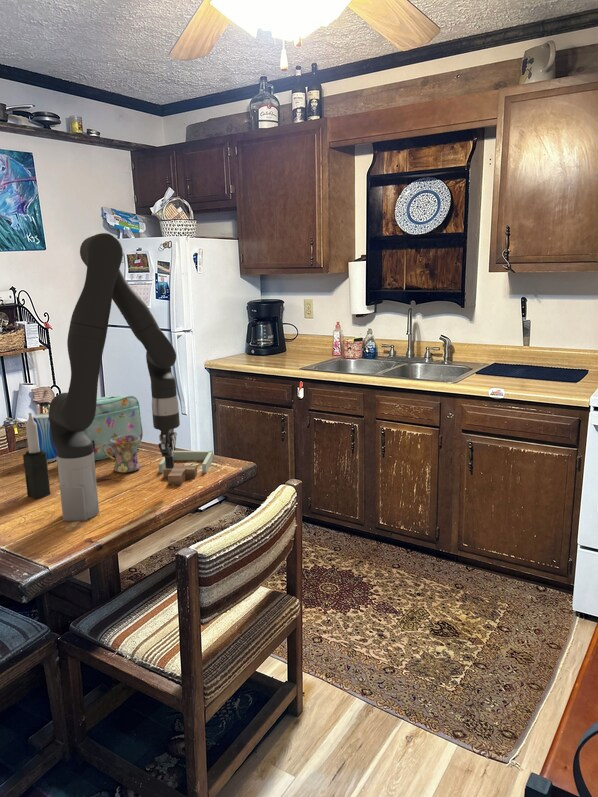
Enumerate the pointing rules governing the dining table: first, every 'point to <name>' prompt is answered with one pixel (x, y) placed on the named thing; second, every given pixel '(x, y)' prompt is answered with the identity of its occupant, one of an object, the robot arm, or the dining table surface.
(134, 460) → the mug
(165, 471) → the t block
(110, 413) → the lunch box
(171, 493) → the dining table surface
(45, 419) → the beer can
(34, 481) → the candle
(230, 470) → the dining table surface
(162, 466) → the bay
